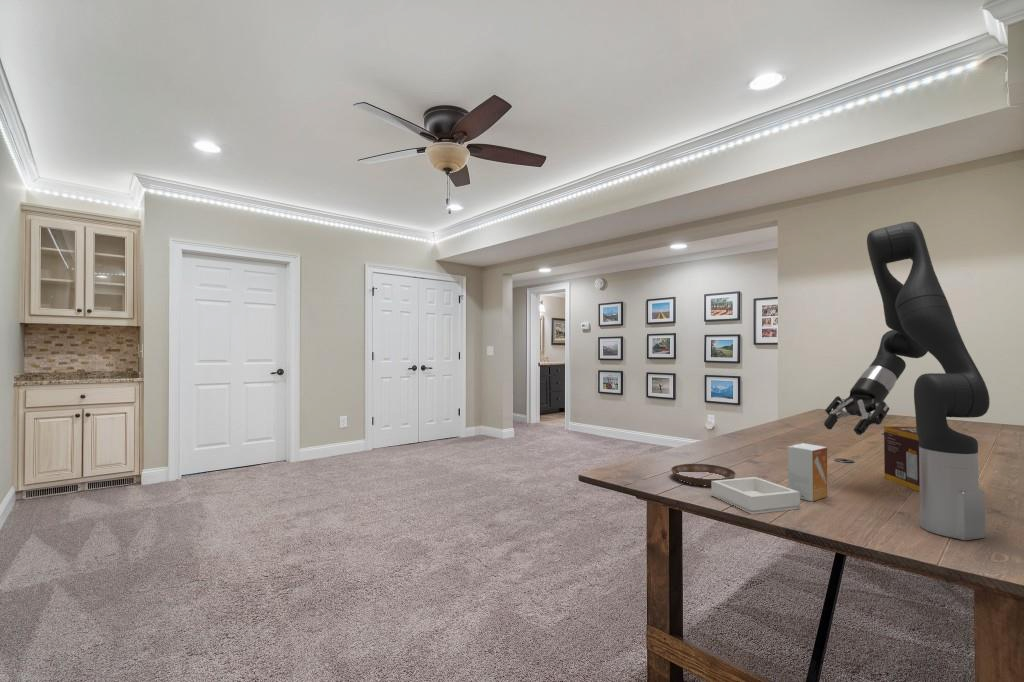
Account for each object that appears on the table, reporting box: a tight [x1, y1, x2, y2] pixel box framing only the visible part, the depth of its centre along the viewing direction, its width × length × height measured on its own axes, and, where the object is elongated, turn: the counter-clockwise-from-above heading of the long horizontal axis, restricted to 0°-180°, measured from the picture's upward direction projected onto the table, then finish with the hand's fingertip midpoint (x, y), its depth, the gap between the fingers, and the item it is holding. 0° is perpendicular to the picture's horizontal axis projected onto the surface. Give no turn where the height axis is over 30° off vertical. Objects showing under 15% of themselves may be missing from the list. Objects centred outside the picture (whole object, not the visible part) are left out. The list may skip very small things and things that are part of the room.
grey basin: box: [710, 476, 801, 515], centre depth 120 cm, size 14×14×4 cm
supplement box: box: [883, 425, 920, 493], centre depth 134 cm, size 10×15×16 cm
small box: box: [787, 442, 828, 502], centre depth 124 cm, size 8×6×13 cm
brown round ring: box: [670, 463, 737, 487], centre depth 140 cm, size 18×18×3 cm
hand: (841, 430), depth 127 cm, fingers open, 8 cm apart
